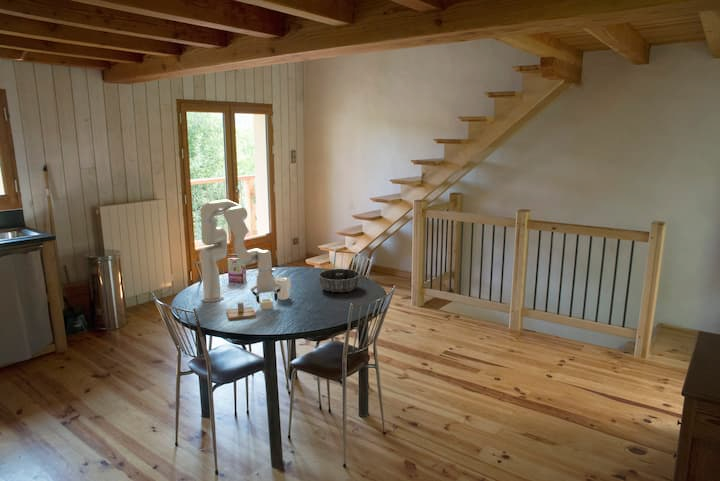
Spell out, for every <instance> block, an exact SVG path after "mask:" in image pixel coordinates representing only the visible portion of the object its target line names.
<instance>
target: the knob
mask: <svg viewBox="0 0 720 481" xmlns="http://www.w3.org/2000/svg"><path fill="white" fill-rule="evenodd" d="M259 302H260V303H259V306H260V309H261V310H270V309H274V301H273V299H272V298H271V297H270V298H269V297H267V298H259Z"/></svg>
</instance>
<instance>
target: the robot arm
mask: <svg viewBox="0 0 720 481" xmlns="http://www.w3.org/2000/svg"><path fill="white" fill-rule="evenodd" d="M199 213H200V220H201V224H200V225H201V228H200V229H201V242H202V243H203V245H206V246H207V247H204V248H202V249H201V250H199V254H198V258H199V262H200V265H201V266H200V267H201V273H202V274H201V275H202V286H203V288H202V289H203V296H202V297H201V301H202V302H204V303H205V302H206V303H213V302H219V301H222V300H223V299H224V295H223V294H221V284H220V283H221V282H220V271H219V270H220V269H219V266H218V264H217V262H218V261H222V260H224V259H225V258H226V257H227V255H228V254H227V253H228V235H227V231H226V230H225V229H224V227H221V226H218V225H217V224H218V222H217V219H216V217H217V216H224V219H225V221H226V222H227V225H228V227H229V229H230V231H231V232H232V235H233V237H234V238H233V247H234V252H235V255H236V256H237V258H239V260H240V261H241V262H242V263H243V264H245V265H246V266H247V265H248V266H249V265H251V264H254V263H257V271H258V272H257V275H256V285H254V286H253V287H252V288H250V291H251V294H252V295H254V296H255V299H256V303H257V304H259V305H260V296H259V295H260V294H265V293H271V292H274V293H273V294H274V295H273V297H274V301H275V302H277V301H278V300H279V299H278V297H277V294H278V293H279V291H280V289H281V287H282V286H281V285H279V284H276V283H275V279H276V278H275V276H274V272H275V269H274V268H272V265H273V264H272V252H271V251H270V250H269V249H260V248H252V249H248V250H247V248H246V245H245V238H246V236H247V234H248V233H249V228H248V226H247V224H246V222H245V220H246V219H247V218H248V211H247V209H246V208H245V207H244V206H243V205H240V204H238V203H237V202H234V201H232V200H230V199H218V200H212V201H209V202H206V203H204V204H203V205H202V206H201V208H200V212H199ZM276 286H277V287H279V288H278V289H277V290H276ZM255 290H256V291H255Z"/></svg>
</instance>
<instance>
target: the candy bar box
mask: <svg viewBox="0 0 720 481" xmlns="http://www.w3.org/2000/svg"><path fill="white" fill-rule="evenodd" d="M227 275H228V283H229V284H245V283H247V265H245V264H243V263H242V262H241V261H240V260H239V258H238V257H229V258H227Z"/></svg>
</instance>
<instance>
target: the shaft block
mask: <svg viewBox="0 0 720 481" xmlns="http://www.w3.org/2000/svg"><path fill="white" fill-rule="evenodd" d="M226 315H227V317H228V321H238V320H245V319H254V318H257V314H256V311H255V310H254V307H253V306H249V307H248V306H247V307H245V306H244V302H243V301H242V302H238V303H237V308H230V309H226Z"/></svg>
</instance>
